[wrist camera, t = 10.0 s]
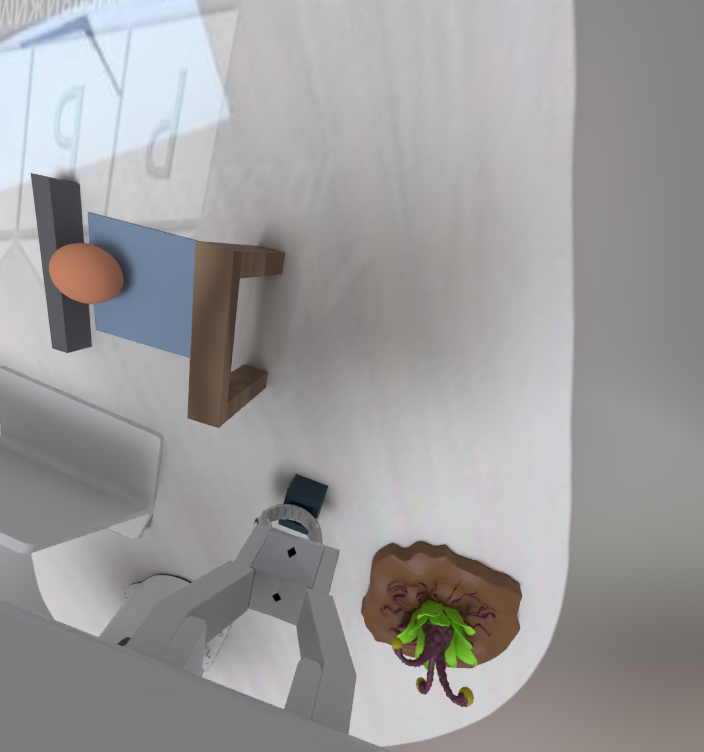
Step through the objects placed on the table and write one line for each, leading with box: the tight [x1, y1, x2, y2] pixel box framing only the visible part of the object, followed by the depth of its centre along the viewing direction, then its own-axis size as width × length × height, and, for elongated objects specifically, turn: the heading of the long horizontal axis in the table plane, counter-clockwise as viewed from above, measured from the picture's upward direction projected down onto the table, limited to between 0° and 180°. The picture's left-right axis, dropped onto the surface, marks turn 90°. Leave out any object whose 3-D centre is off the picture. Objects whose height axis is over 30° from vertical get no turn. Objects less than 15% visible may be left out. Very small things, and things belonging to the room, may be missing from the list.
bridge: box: [188, 241, 285, 428], centre depth 31 cm, size 3×15×10 cm, turn 168°
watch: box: [253, 474, 328, 544], centre depth 37 cm, size 6×8×11 cm
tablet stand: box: [0, 367, 164, 553], centre depth 40 cm, size 18×25×17 cm
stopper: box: [31, 173, 91, 353], centre depth 36 cm, size 18×2×3 cm, turn 167°
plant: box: [361, 541, 522, 707], centre depth 39 cm, size 20×20×11 cm
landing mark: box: [88, 213, 196, 358], centre depth 36 cm, size 13×13×1 cm
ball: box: [49, 243, 124, 304], centre depth 34 cm, size 6×6×6 cm
